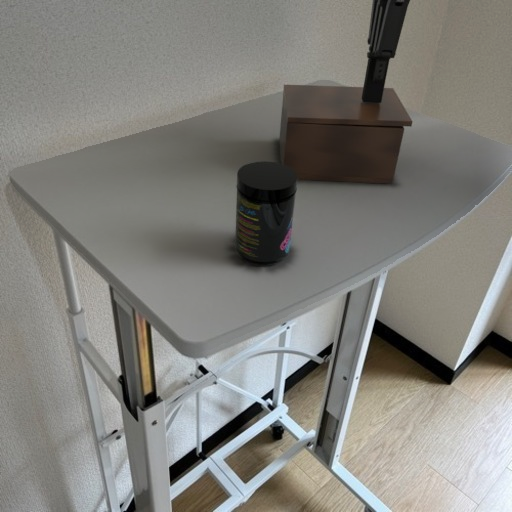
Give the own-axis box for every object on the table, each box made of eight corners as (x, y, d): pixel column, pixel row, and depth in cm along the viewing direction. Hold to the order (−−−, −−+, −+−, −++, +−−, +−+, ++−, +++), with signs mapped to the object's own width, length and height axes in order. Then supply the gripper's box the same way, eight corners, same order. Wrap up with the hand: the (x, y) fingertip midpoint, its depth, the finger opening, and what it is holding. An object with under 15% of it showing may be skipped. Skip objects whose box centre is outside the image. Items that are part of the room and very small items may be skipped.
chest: (376, 145, 94) (386, 94, 89) (392, 183, 83) (404, 128, 78) (279, 140, 93) (283, 89, 88) (282, 178, 82) (287, 123, 77)
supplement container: (279, 274, 63) (287, 195, 57) (225, 259, 65) (227, 181, 59) (296, 243, 69) (305, 168, 62) (246, 231, 70) (249, 156, 64)
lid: (392, 92, 88) (393, 88, 88) (411, 126, 77) (412, 121, 77) (283, 89, 88) (283, 84, 88) (287, 122, 77) (287, 117, 77)
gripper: (366, -91, 73) (340, 84, 87) (384, -82, 63) (352, 116, 77) (421, -87, 74) (387, 87, 88) (449, -78, 63) (405, 118, 77)
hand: (371, 100), depth 82 cm, fingers closed
